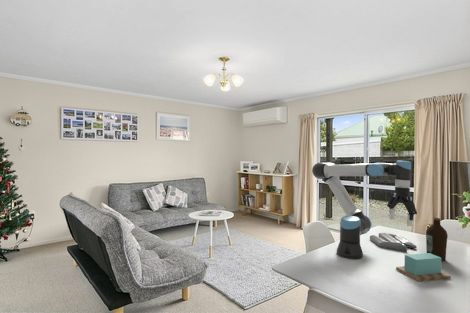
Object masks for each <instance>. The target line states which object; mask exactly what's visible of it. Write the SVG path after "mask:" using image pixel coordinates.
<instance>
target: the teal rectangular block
mask: <svg viewBox="0 0 470 313" xmlns="http://www.w3.org/2000/svg"><path fill="white" fill-rule="evenodd" d="M404 270H406V271H408V272H410V273H412V274H414V275H424V274H435V273H441V271H442V261H441V257H438V256H436V255H433V254H431V253H427V252H425V253H424V252H423V253H411V254H404Z"/></svg>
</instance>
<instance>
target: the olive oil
mask: <svg viewBox="0 0 470 313" xmlns="http://www.w3.org/2000/svg"><path fill="white" fill-rule="evenodd" d="M448 237H449V236H448V232H447V230H446V228H444V227H443V226H442V225H441V218H440V217H433V224H431V225H430V226H428V227H427V229H426V231H425V241H426V242H425V243H426V253H431V254H433V255H436V256H438V257H441V262H445V261H446V259H447V258H446V257H447V244H448V243H447V242H448Z"/></svg>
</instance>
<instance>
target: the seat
mask: <svg viewBox="0 0 470 313" xmlns="http://www.w3.org/2000/svg"><path fill="white" fill-rule="evenodd" d="M395 270H396V271H397V272H400V273H402V274H403V275H404V276H407V277H409V278H411V279H412V280H414V281H416V282H430V281H441V280H449V279H451V278H452V275H451V274H449V273H446V272H443V271H442V270H441V273H435V274H424V275H414V274H412V273H410V272H408V271H406V270H404V266H396V267H395Z"/></svg>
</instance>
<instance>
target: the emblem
mask: <svg viewBox="0 0 470 313" xmlns="http://www.w3.org/2000/svg"><path fill="white" fill-rule="evenodd" d="M369 240H370V241H371V242H373V243H374V244H375V245H376V246H378V247H380V248H383V249H388V250H393V251H398V252H404V253H407V252H408V248H409V249H414V250H415V249H416V250H417V248H418V247H417V245H416V244H414V243H413V242H411V241H409V240H408V239H406V238H405V237H403V236H401V235H398V234H397V235H396V234H393V233H387V232H382V233H381V232H379V233H378V236H377V235H375V234H374V235H373V234H371V235H369Z"/></svg>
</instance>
